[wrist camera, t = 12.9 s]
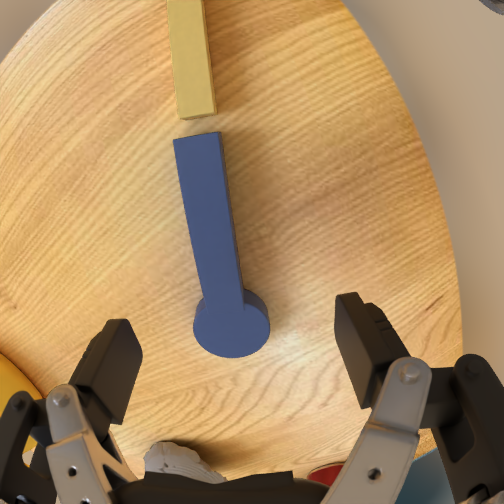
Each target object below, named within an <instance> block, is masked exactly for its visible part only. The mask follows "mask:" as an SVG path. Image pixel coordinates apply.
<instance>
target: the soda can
mask: <svg viewBox="0 0 504 504" xmlns="http://www.w3.org/2000/svg"><path fill="white" fill-rule="evenodd" d="M344 464H345V463H334V464H329V465H325V466H322V467H319V468H317V469H314V470H313V471H311V472H310V473H309V474H308V476H307V479H308V480H313V481H316V482H320V483H322V484H325V485H328V486H329V487H331V486H332V484H333V483H334V481H335V479H336V478H337V476H338V474H339V473H340V471H341V469H342V467H343V466H344Z"/></svg>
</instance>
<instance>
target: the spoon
mask: <svg viewBox="0 0 504 504" xmlns="http://www.w3.org/2000/svg"><path fill="white" fill-rule="evenodd" d="M173 145H174V151H175V157H176V163H177V169H178V175H179V181H180V187H181V192H182V198H183V203H184V208H185V214H186V219H187V224H188V229H189V234H190V238H191V243H192V248H193V253H194V257H195V262H196V266H197V271H198V275H199V279H200V284H201V288H202V292H203V296H204V298H203V299H202V300H201V301H200V302H199V304H198V306H197V309H196V313H195V319H194V324H193V331H194V335H195V338H196V340H197V341H198V343H199V344H200V345H201V346H202V347H203V348H204V349H205V350H207V351H208V352H210V353H212V354H214V355H217V356H220V357H225V358H239V357H244V356H248V355H251V354H253V353H255V352H256V351H258V350H259V349H260V348H261V347H262V346H263V345H264V344H265V343H266V341H267V339H268V337H269V334H270V323H269V317H268V311H267V308H266V306H265V304H264V302H263V301H262V300H261V299H260V298H259V297H258V296H257V295H256V294H254V293H252V292H251V291H248V290H246V289H243V283H242V276H241V270H240V263H239V256H238V250H237V243H236V236H235V229H234V222H233V216H232V209H231V202H230V195H229V187H228V180H227V173H226V166H225V159H224V151H223V144H222V136H221V132H213V133H207V134H201V135H195V136H189V137H184V138H179V139H174V140H173Z"/></svg>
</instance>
